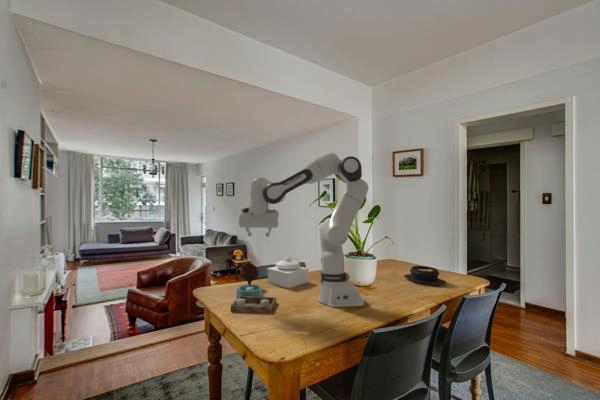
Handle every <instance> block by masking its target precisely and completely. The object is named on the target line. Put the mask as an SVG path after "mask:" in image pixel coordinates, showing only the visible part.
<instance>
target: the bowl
mask: <svg viewBox="0 0 600 400" xmlns="http://www.w3.org/2000/svg"><path fill="white" fill-rule="evenodd" d="M247 287H253V291H246V288H247ZM239 296H252V297H263V286H261V285H259V284H251V285H250V284H248V283H247V284H244V285H239V286H238V287H237V288H236V299H237V298H238V297H239Z"/></svg>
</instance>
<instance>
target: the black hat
mask: <svg viewBox="0 0 600 400" xmlns="http://www.w3.org/2000/svg"><path fill="white" fill-rule="evenodd" d="M409 272H410V273H407V274H405V275H403V278H407V279H408V280H410V281H413V282H415V283H418V284H423V285H443V284H446V283H447V281H446V280H444V279H441V278H439V275H440V272H439V270H438V269H437V268H436V267H431V266H425V265H413V266H411V268H410V270H409Z"/></svg>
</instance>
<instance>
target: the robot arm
mask: <svg viewBox="0 0 600 400" xmlns="http://www.w3.org/2000/svg"><path fill="white" fill-rule="evenodd" d="M362 172H363V169H362V163H361V161H360V159H358V158H357V157H355V156H346V157H344V158H342V160H341V158H340V157H339V156H338V155H337V154H336V153H334V152H329V153H326V154H323V155H321V156H319V157H316V158H315V159H313V160H311V161H310V162H309V163H307V164H306V165H304V166H303V167H302V168H301V169H299V170H298V171H297V172H296V173H294V174H293V175H290V176H289V177H287V178H285V179H283V180H281V181H278V182H272V181H270V180H269V179H267V178H266V177H258V178H254V179H253V180H251V183H250V193H249V194H250V203H249V206H247V207H243V208H241V209H240V212H241V213H240V214H239V219H238V226H239V227H240V228H245V230H246V232H247V236H248V237H252V233H253V232H251V231H250V228H257V229H258V228H260V229H261V228H267V229H268V232H266V233H265V237H270V234H271V231H272V230H273V228H274V229H275V228H278V227H279V217H280V216H279V215H280V212H279V211H278V210H277V209H268V204H270V205H275V204H279V203H282V202H283V201H284V200H285V198H286V195H287V194H288V193H290V192H292V191H293V190H296V189H298V188H299V187H301V186H305V185H308V184H309V185H311V184H315V183H318V182H321V181H323V180H325V179H326V178H328V177H329V176H332V175H335V176H336V177H337V179H339V181H341V182H343V183H345V184H346V185H345V189H344V190H343V192H342V194H341V196H340V197H339V199H338V201H336V202H337V203H336V205H335V206H334V208H333V212H332V214H331V217H330V220H328V221H325V222H324V223H323V224H322V225H321V226H320V229H319V230H320V231H319V233H320V234H319V237H320V250H321V271H320V289H319V294H318V295H319V296H318V299H317V300H318V303H321V304H324V305H328V307H331V308H345V307H349V308H350V307H363V306H364V305H365V300H364V298H363V296H361V295H360V291H359V288H358V287H357V286H356V285H355V284H354V283H352V282H351V281H350V279H351V277H350V275H349V273H348V272H346V271H345V255H344V249H343V245H344V244H345V243H346V242H347V240H348V238H349V233H350V231H351V228H352V226H353V222H354V220H355V218H356V216H357V214H358V212H359V211H360V209H361V207H362V205H363V203H364V201H365V199H366V197H367V194H368V191H369V185H368V183H367V181H366V180H363V179H362V175H363V173H362Z"/></svg>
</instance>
